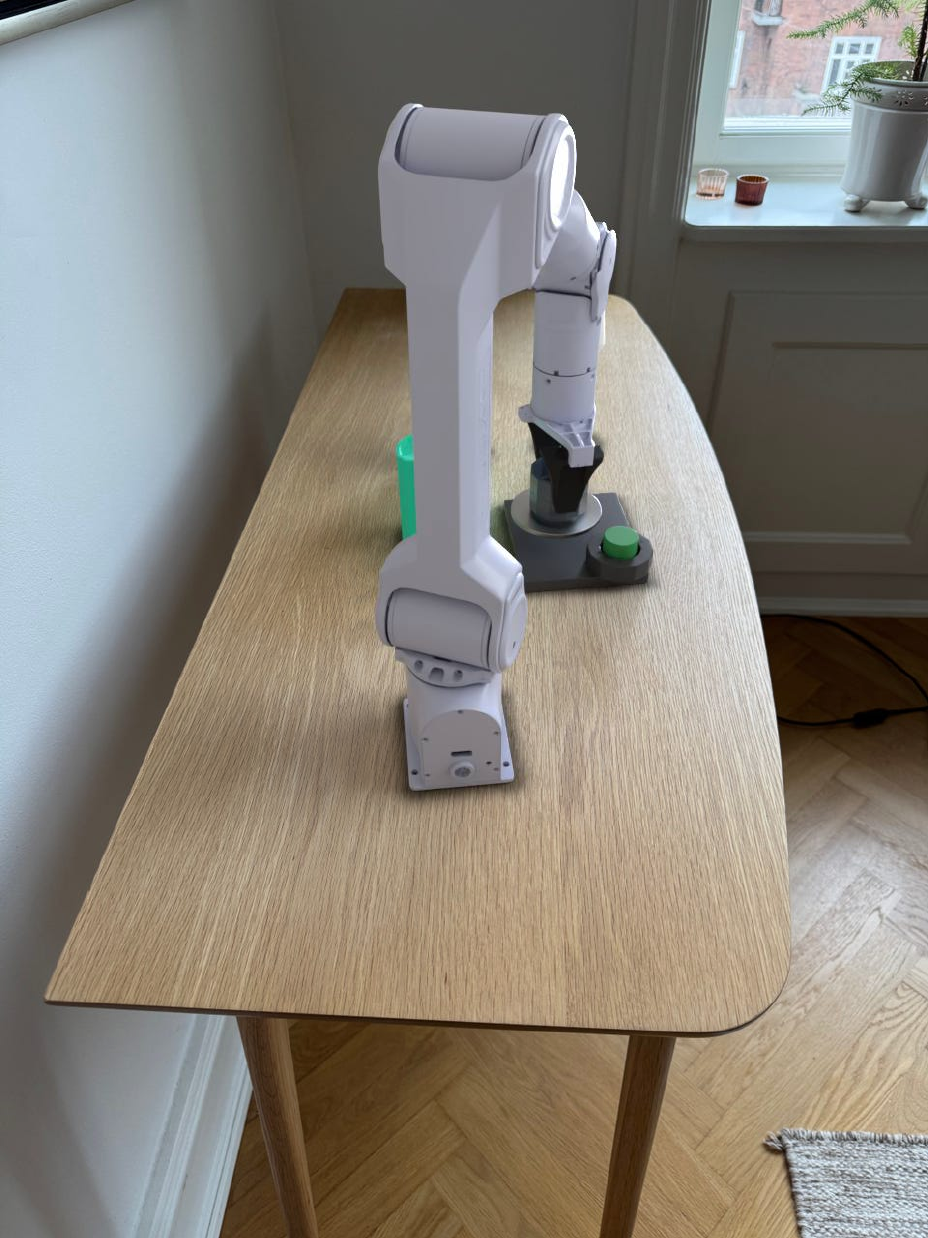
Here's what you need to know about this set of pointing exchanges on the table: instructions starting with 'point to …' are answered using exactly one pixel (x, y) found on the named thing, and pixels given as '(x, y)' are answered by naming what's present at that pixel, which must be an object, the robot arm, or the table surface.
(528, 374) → the table surface
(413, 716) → the robot arm
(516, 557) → the scale
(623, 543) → the tare button
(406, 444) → the candle
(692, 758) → the table surface
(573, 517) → the faceted grey cup
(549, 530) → the scale pan
